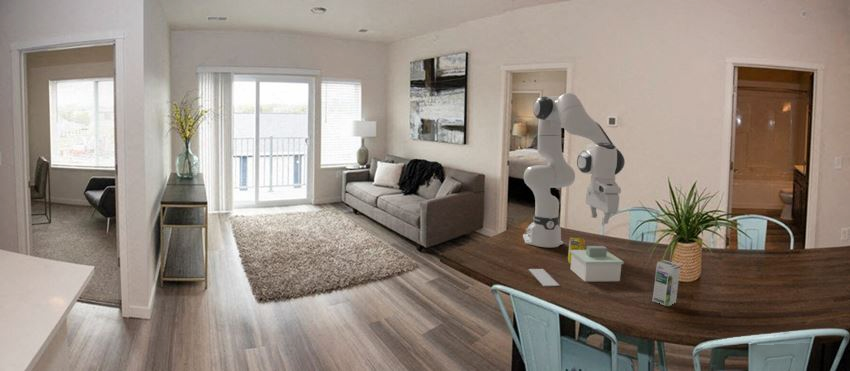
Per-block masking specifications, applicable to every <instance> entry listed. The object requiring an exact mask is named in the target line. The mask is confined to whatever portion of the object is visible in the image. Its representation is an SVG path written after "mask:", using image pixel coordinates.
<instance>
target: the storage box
mask: <svg viewBox="0 0 850 371" xmlns="http://www.w3.org/2000/svg"><path fill="white" fill-rule="evenodd" d="M570 271H572V272H573V273H575V274H576V276H578V277H579V278H580V279H581V280H582V281H584V282H586V283H587V282H620V281H621V271H622V264H585V263H583V262H582V261H581V260H579V259H578V258H577V257H576V256H574V255H573V254H572V256H571V264H570Z"/></svg>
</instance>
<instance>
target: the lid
mask: <svg viewBox="0 0 850 371" xmlns="http://www.w3.org/2000/svg"><path fill="white" fill-rule="evenodd" d="M570 253H572V254H573V255H574V256H576V257H577V258H578V259H579V260H581V261H582V262H583V263H585V264H621V265H624V263H625V262H624V261H623V260H622V259H620V258H618V257H617V256H615V255H614V254H612V253H611V252H609V251H608V248H607V247H606V246H604V245H586V248H585V249H584V250H570Z"/></svg>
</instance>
